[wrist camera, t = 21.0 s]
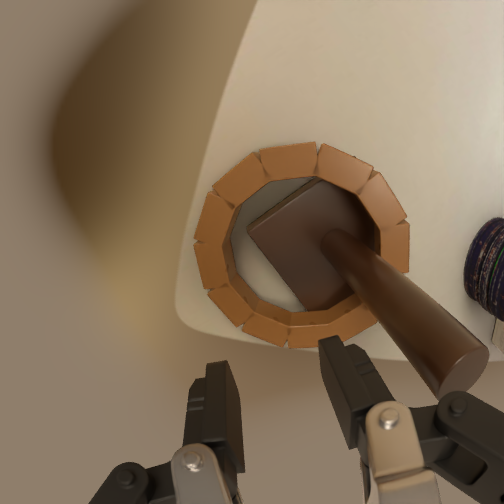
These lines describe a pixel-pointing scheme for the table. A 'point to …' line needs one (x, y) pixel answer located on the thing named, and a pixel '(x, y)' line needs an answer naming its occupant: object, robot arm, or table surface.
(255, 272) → the table surface
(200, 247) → the ring
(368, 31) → the table surface
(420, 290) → the peg
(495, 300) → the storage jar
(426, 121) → the table surface
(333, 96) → the table surface
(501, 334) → the small box
